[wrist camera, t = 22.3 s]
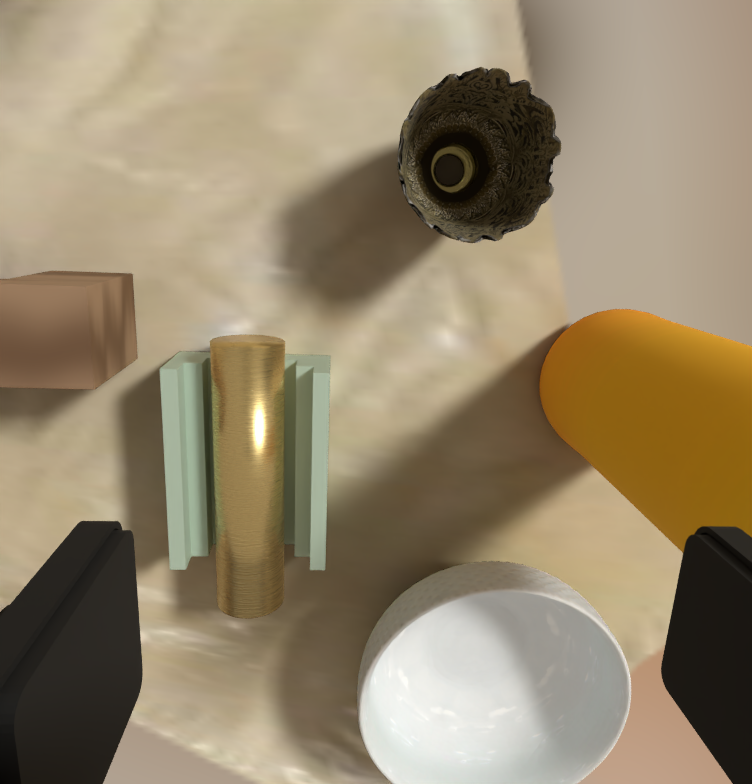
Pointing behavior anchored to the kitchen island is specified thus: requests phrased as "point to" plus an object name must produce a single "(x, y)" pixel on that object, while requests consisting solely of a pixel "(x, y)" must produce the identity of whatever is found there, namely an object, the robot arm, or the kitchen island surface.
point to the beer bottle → (657, 416)
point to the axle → (248, 472)
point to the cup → (478, 155)
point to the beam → (66, 329)
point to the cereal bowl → (491, 681)
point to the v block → (195, 455)
